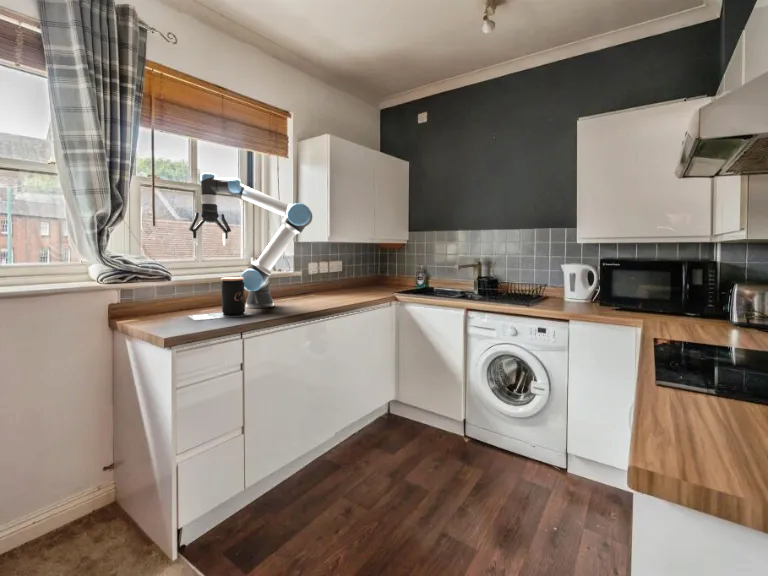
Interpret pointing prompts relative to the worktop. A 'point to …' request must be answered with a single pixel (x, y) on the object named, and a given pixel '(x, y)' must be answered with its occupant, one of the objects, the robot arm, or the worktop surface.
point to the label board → (214, 316)
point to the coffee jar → (233, 296)
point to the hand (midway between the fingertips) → (211, 245)
